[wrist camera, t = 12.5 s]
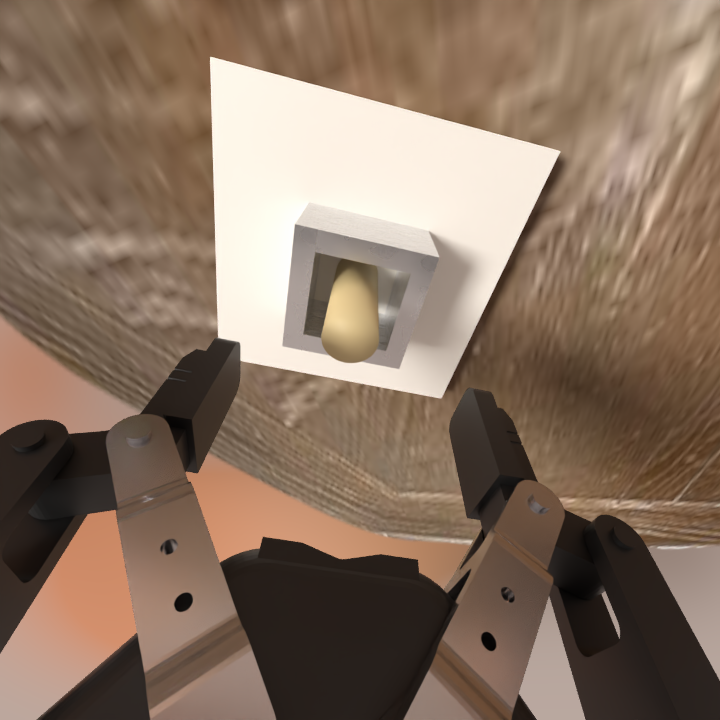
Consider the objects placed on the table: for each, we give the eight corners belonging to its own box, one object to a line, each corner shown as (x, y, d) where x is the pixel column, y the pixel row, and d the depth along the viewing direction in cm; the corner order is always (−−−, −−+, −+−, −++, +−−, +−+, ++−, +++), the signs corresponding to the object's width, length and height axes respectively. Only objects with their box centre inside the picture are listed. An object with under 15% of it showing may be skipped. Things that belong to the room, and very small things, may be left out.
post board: (547, 147, 18) (657, 177, 11) (438, 385, 27) (460, 481, 20) (222, 59, 16) (109, 29, 9) (226, 344, 25) (171, 434, 19)
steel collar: (428, 230, 19) (439, 257, 16) (395, 330, 22) (399, 369, 19) (309, 202, 18) (295, 224, 15) (295, 310, 22) (282, 346, 19)
